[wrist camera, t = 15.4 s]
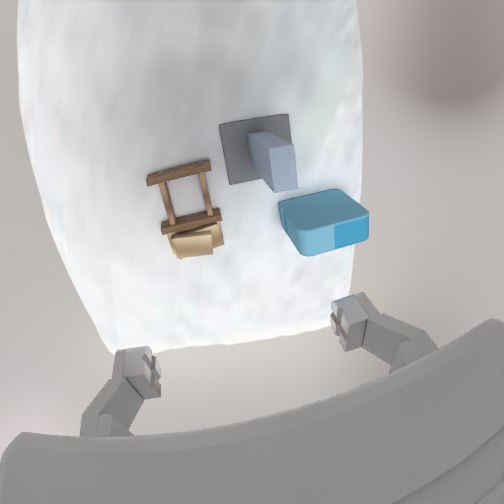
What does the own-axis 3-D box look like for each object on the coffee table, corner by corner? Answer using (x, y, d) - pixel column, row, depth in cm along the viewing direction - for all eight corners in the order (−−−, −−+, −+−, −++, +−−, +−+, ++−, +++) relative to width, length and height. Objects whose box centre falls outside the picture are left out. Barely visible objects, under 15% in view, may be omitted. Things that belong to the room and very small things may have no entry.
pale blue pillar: (247, 133, 42) (268, 148, 31) (265, 130, 43) (293, 144, 32) (252, 166, 45) (274, 192, 34) (270, 163, 46) (297, 188, 35)
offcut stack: (167, 228, 48) (165, 240, 45) (217, 216, 49) (220, 227, 45) (174, 251, 51) (174, 265, 47) (223, 240, 52) (226, 253, 48)
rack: (148, 175, 43) (145, 180, 40) (209, 159, 44) (210, 164, 41) (163, 226, 48) (162, 234, 46) (220, 213, 49) (222, 220, 46)
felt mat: (218, 124, 41) (219, 125, 41) (287, 113, 42) (288, 114, 42) (229, 183, 47) (230, 185, 46) (293, 171, 48) (294, 172, 47)
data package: (280, 224, 53) (303, 259, 42) (276, 201, 50) (300, 232, 40) (339, 209, 53) (372, 239, 43) (338, 187, 51) (373, 213, 41)
